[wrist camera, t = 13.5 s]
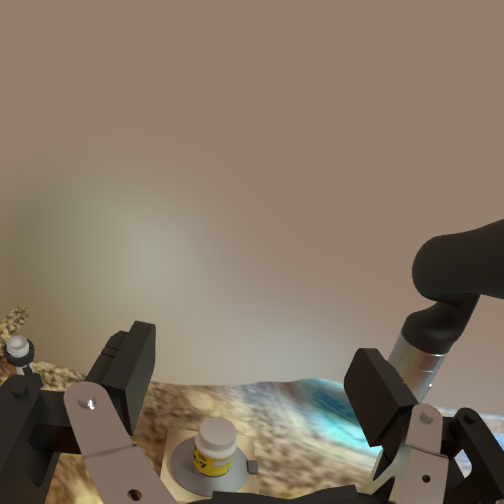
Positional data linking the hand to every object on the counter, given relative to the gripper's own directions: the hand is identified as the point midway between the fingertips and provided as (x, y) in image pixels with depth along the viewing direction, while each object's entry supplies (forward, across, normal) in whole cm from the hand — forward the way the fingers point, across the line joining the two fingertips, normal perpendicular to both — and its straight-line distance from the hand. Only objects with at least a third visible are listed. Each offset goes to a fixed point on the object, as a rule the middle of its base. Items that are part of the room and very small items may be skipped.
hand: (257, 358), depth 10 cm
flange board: (+10, 0, +29) cm, 31 cm away
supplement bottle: (+10, 0, +27) cm, 29 cm away
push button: (+15, +29, +29) cm, 44 cm away
